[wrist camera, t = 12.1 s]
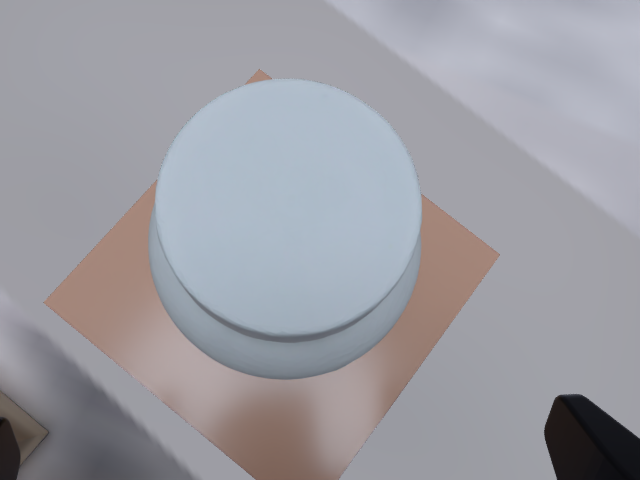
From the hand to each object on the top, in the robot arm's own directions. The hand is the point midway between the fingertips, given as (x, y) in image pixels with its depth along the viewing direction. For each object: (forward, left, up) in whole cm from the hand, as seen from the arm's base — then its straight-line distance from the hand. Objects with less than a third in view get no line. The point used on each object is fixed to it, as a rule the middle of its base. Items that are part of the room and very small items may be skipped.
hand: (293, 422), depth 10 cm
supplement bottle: (+2, -3, -8) cm, 9 cm away
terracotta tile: (+2, -3, -9) cm, 9 cm away
